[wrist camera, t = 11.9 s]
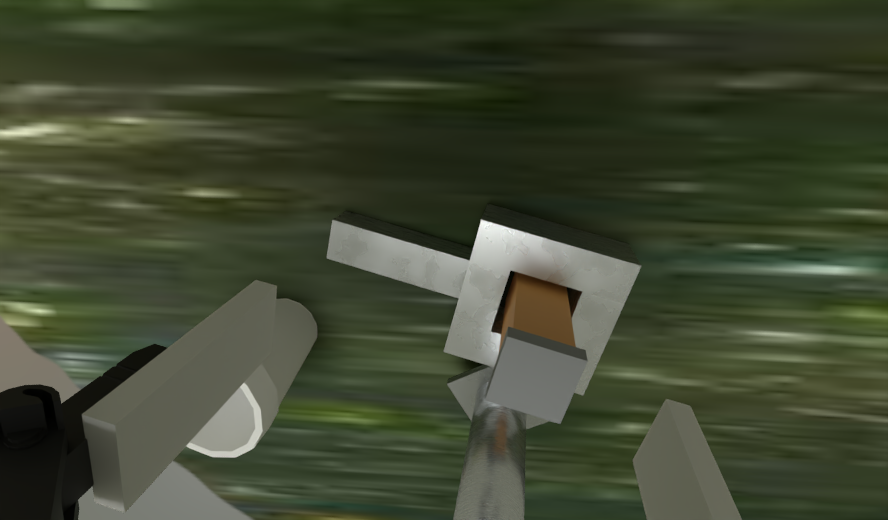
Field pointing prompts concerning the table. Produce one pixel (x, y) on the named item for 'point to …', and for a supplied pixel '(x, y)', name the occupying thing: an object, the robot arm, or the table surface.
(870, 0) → the table surface
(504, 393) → the wedge pin
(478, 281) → the grey angular stepped piece
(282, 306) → the foam cup
